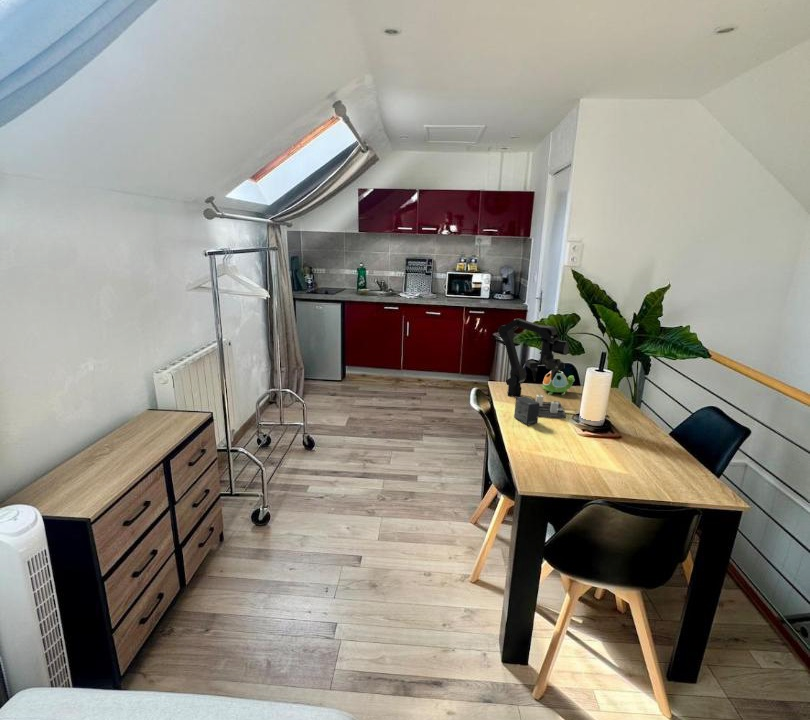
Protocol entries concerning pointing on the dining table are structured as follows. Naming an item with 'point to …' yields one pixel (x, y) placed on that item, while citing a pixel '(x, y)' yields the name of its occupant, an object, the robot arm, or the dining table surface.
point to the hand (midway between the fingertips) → (543, 380)
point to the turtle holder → (557, 383)
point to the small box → (526, 410)
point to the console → (545, 412)
